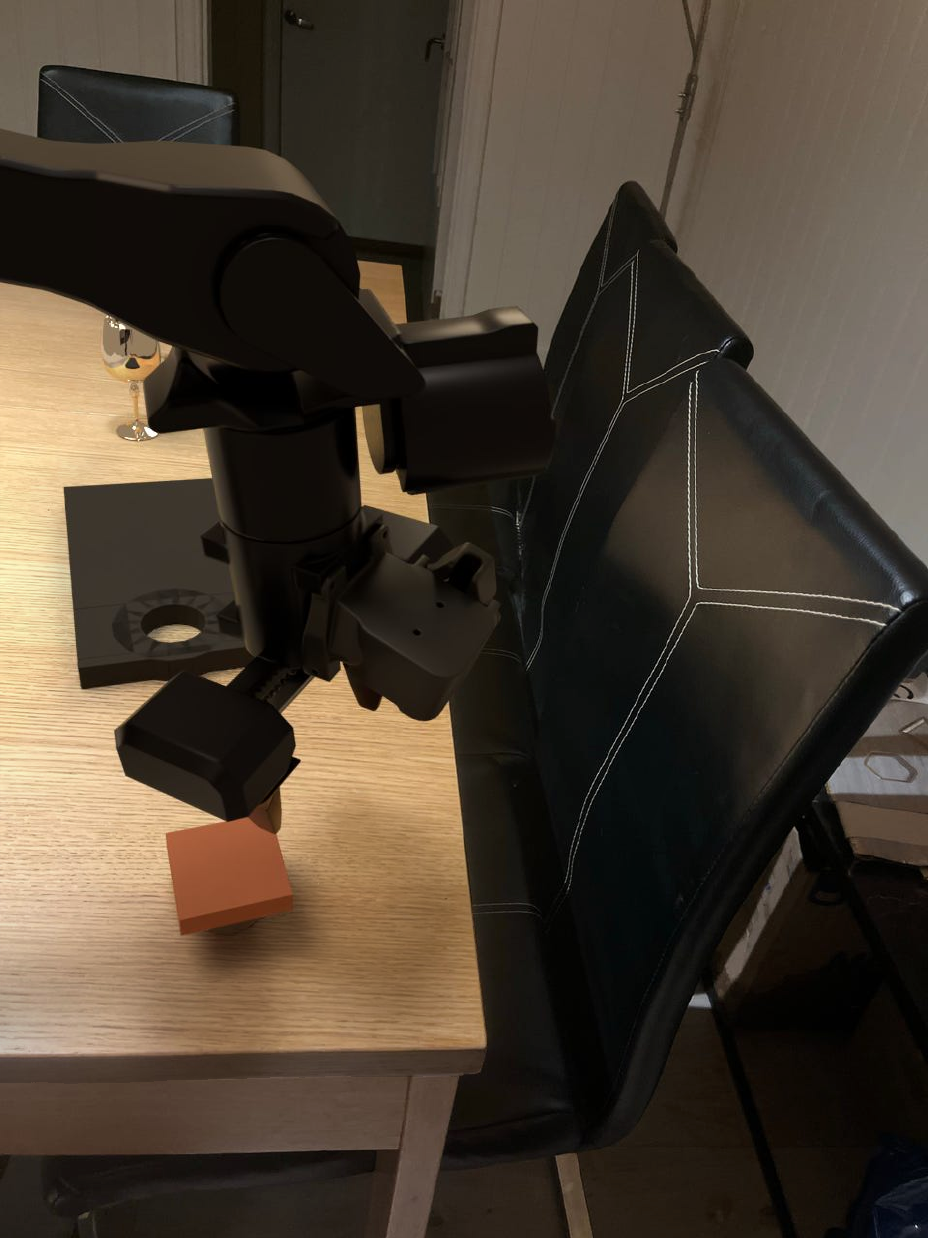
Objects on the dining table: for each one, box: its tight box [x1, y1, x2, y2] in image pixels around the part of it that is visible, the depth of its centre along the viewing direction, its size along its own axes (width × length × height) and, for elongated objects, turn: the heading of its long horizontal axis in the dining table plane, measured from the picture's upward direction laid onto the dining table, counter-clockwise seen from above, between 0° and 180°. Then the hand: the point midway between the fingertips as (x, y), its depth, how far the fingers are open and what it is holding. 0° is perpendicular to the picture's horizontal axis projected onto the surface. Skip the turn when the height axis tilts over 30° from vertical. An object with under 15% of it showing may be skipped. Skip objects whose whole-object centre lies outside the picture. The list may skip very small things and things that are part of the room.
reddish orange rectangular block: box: [165, 817, 294, 936], centre depth 52 cm, size 6×6×4 cm
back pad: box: [62, 477, 255, 689], centre depth 77 cm, size 26×14×2 cm, turn 21°
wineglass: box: [100, 315, 162, 441], centre depth 94 cm, size 6×6×12 cm
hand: (322, 764), depth 47 cm, fingers open, 9 cm apart
